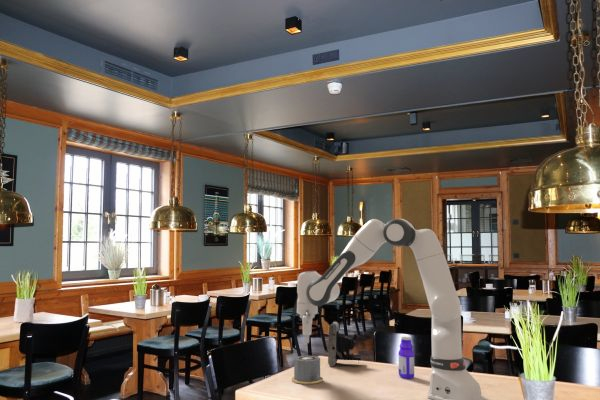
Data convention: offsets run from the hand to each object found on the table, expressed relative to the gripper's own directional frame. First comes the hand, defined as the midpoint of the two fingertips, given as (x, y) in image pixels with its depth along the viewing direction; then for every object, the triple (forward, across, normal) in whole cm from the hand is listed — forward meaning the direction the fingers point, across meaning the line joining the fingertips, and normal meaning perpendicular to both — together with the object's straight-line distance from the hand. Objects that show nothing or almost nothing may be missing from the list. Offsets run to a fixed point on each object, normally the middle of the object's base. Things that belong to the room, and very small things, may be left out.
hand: (307, 342), depth 219 cm
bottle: (+15, +6, -43) cm, 46 cm away
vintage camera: (+16, +29, -18) cm, 38 cm away
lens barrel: (+15, 0, 0) cm, 16 cm away
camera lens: (+10, 0, 0) cm, 11 cm away
